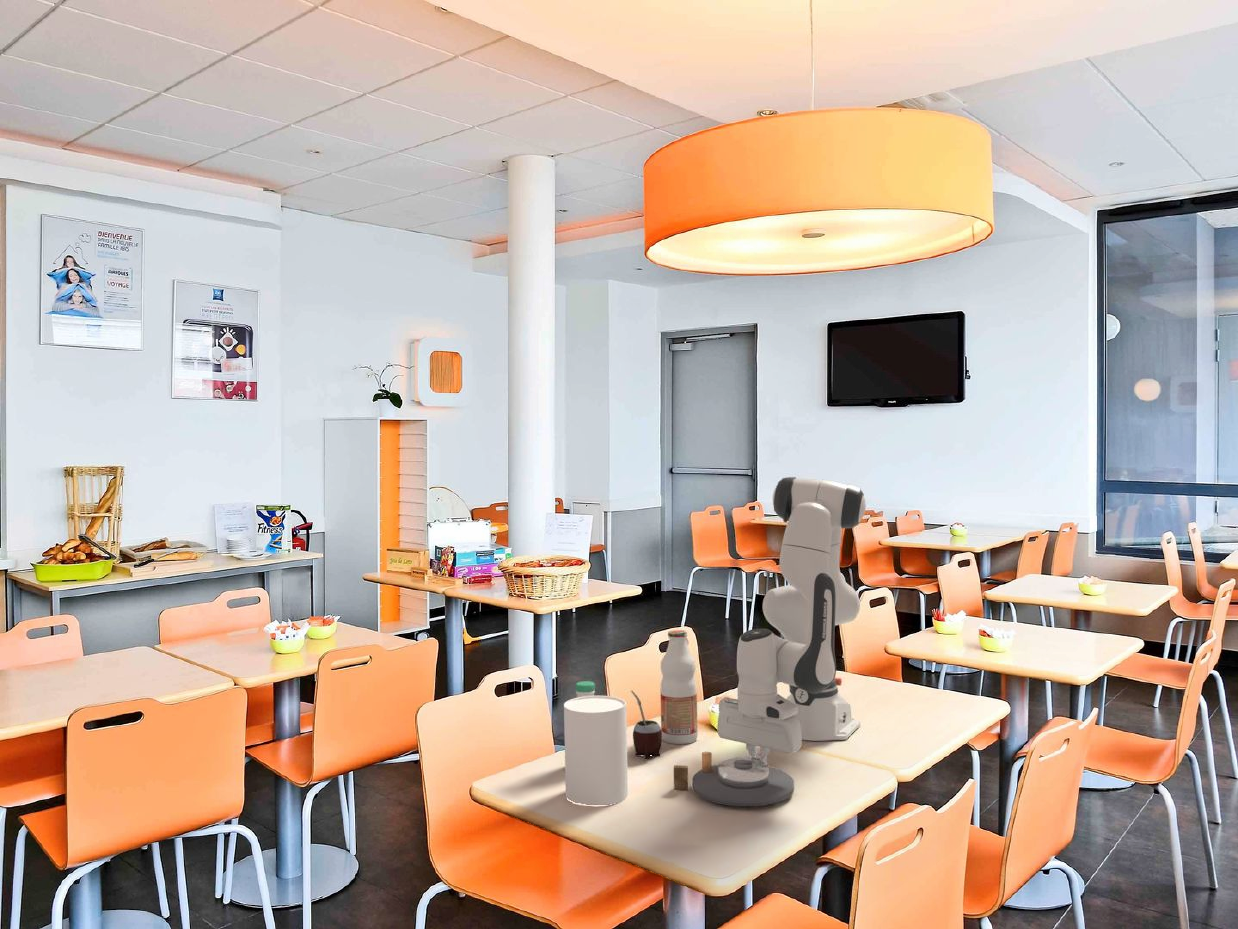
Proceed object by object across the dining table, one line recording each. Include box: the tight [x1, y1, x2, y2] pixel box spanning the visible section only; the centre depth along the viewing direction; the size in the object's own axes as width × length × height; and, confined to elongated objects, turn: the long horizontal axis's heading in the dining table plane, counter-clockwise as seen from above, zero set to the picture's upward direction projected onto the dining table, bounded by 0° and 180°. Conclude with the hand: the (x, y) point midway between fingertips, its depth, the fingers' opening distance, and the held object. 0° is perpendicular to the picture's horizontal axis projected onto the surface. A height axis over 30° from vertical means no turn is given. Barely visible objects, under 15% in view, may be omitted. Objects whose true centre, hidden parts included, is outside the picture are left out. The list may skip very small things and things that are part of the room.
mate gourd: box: [630, 690, 663, 761], centre depth 227 cm, size 8×8×15 cm
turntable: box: [691, 751, 795, 807], centre depth 202 cm, size 22×22×6 cm
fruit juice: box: [659, 629, 699, 745], centre depth 239 cm, size 9×9×28 cm
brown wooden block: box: [673, 764, 689, 792], centre depth 204 cm, size 3×2×5 cm, turn 81°
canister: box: [563, 695, 629, 806], centre depth 202 cm, size 14×14×20 cm
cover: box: [717, 757, 770, 789], centre depth 202 cm, size 11×11×4 cm
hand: (758, 764), depth 207 cm, fingers closed
